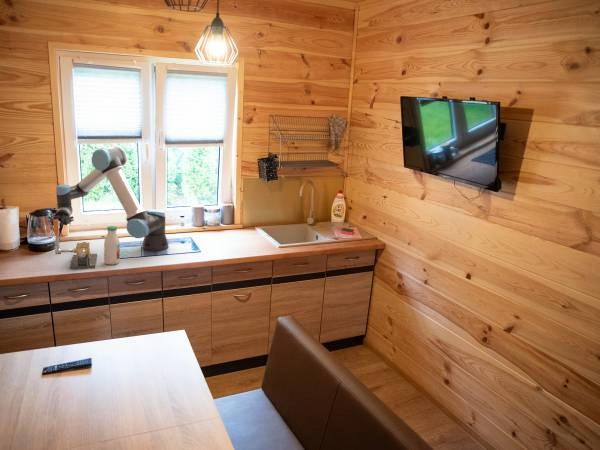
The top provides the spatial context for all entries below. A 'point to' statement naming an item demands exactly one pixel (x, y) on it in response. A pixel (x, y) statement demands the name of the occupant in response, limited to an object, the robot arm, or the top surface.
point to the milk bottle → (111, 246)
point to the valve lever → (56, 234)
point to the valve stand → (83, 257)
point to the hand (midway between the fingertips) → (57, 226)
